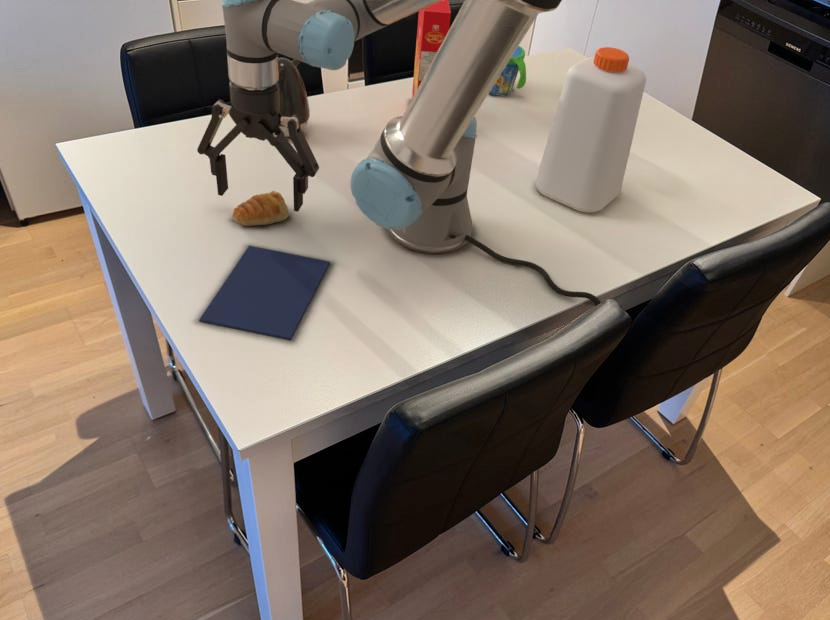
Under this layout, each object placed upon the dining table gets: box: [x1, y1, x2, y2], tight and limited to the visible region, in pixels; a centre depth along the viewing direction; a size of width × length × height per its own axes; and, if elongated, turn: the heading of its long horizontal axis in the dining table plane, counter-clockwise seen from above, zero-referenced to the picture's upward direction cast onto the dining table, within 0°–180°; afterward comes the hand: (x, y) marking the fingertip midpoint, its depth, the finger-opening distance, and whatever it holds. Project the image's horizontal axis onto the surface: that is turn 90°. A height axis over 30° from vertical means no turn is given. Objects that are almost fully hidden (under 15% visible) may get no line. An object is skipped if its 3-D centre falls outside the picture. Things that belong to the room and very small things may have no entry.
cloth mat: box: [199, 245, 331, 341], centre depth 116 cm, size 14×20×1 cm
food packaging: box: [411, 0, 452, 99], centre depth 159 cm, size 15×5×25 cm, turn 4°
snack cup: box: [489, 45, 527, 96], centre depth 179 cm, size 16×10×10 cm
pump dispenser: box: [273, 57, 311, 138], centre depth 150 cm, size 10×10×15 cm
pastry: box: [232, 190, 290, 227], centre depth 130 cm, size 9×7×4 cm
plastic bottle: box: [535, 46, 647, 214], centre depth 141 cm, size 15×15×28 cm
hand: (260, 199), depth 129 cm, fingers open, 13 cm apart
